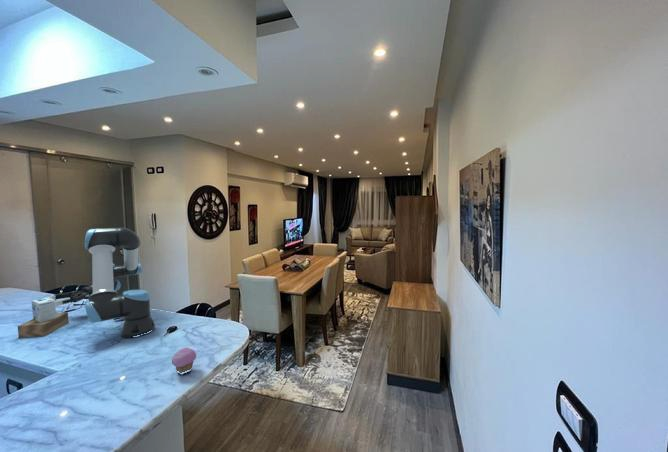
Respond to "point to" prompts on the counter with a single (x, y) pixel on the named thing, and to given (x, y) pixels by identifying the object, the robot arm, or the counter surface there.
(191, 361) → the cupcake
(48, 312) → the light bulb box
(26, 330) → the walnut block
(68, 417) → the counter surface
